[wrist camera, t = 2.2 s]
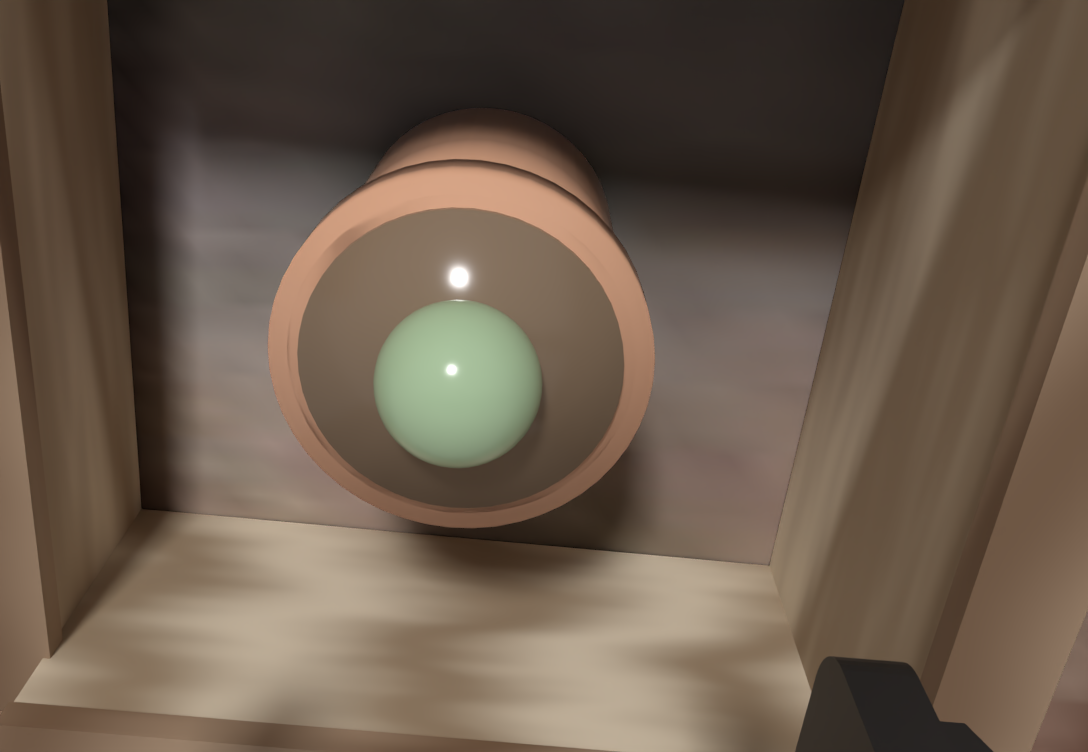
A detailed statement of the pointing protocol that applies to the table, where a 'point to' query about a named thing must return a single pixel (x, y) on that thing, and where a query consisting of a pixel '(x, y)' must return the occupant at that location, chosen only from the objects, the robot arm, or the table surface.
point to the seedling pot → (465, 327)
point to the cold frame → (560, 572)
